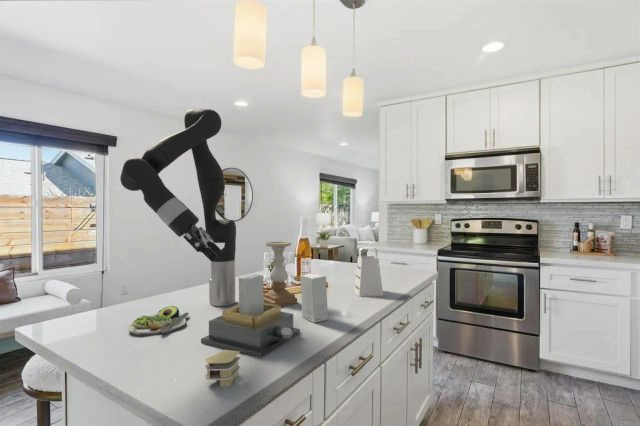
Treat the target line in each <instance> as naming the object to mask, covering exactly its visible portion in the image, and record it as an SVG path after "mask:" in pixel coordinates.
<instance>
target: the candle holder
mask: <svg viewBox="0 0 640 426" xmlns="http://www.w3.org/2000/svg"><path fill="white" fill-rule="evenodd" d="M265 246H266V247H268V248H269V247H270V248H271V250H272V251H273V257H272V258H271V260H272V262H273V263H274V266H273V268H272V270H271V271H270V273H269V279H270V281H271V282H272V283H271V284H270V287H271V289H270V291H268V292H265V293H264V303H266V304H273V305H279V306H281V307H286V306H290V305H294V304H298V298H297V297H296V295H295V294H294V293H292V292H289V290H288V289H286V288H287V283H286V281H287V280H288V277H289V275H288V272H287V270H286V269H285V266H284V262H285V260H286V257H285V256H284V251H285V250H286V247H290V246H292V242H289V241H270V242H269V241H268V242H266V243H265Z"/></svg>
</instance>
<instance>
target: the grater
mask: <svg viewBox="0 0 640 426" xmlns="http://www.w3.org/2000/svg"><path fill="white" fill-rule="evenodd" d="M363 249H374V255H369V256H365V255H364V256H362V250H363ZM379 259H380V258H378V250H377V249H376V248H375V247H374V246H373V247H370V246H369V247H366V246H365V247H360V248H359V249H358V256H357V264H356V271H355V278H354V279H355V281H354V287H353V288H354V289H353V290H354V292H355V293H356V294H357V296H358V297H379V296H380V297H381V296H382V297H383V296H384V292H383V282H382V276H381V267H380V260H379Z"/></svg>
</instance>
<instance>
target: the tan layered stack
mask: <svg viewBox="0 0 640 426" xmlns="http://www.w3.org/2000/svg"><path fill="white" fill-rule="evenodd" d="M239 354H241V353H240V351H232V350H228V349H223V350H222V351H219V352H217V353H215V354H212V355H210V356H208V357H206V359H204V360H205V362H206V364H205V365H204V367H205V369H206V374H205V376H204V377H205V378H206V380H208V381H219V386H220V387H223V388H224V387H225V388H226V387H229V386H231V385H232V383H233V381H234V380H235V378H237V377H238V376H239V371H240V368H241V365H239V361H240V360H241V357H240V356H238V355H239Z"/></svg>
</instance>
